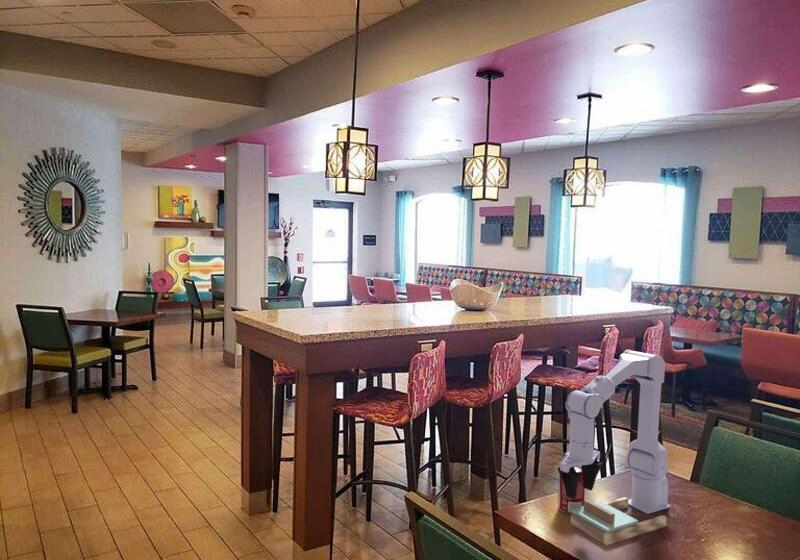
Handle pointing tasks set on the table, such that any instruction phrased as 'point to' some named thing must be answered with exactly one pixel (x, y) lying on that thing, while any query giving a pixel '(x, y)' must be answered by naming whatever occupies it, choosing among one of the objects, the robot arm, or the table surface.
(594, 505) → the lid
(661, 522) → the wooden frame
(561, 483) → the soda can
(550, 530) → the table surface
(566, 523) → the table surface
